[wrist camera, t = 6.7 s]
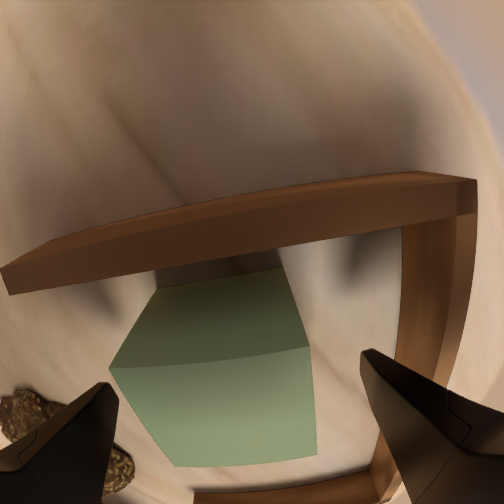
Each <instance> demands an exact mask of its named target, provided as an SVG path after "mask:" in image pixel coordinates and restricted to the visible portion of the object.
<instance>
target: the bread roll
mask: <svg viewBox="0 0 504 504" xmlns="http://www.w3.org/2000/svg"><path fill="white" fill-rule="evenodd" d="M64 407H66V406H65V405H62V404H60V403H57V402H47V401H45V400H44V399H43V398H42V397H40V396H39V395H37V394H35V393H33V392H31V391H28V390H25V389H24V390H23V391H19V390H16V391H15V392H13V396H12V397H10V398H8V397H2V399H1V404H0V425H1V426H2V430H1V431H2V433H3V434H4V436H5V437H6V438H7V439H8V440H10V441H11V442H12V443H14V442H15V441H17V440H19V439H20V438H22V437H24V436H25V435H26V434H28V433H29V432H31V431H32V430H34V429H35V428H36V427H38V426H39V425H41V424H42V423H43V422H45V421H46V420H48V419H49V418H50V417H52V416H53V415H55V414H56V413H57V412H59V411H60V410H62V409H63V408H64ZM134 473H135V467H134V462H133V460H132V459H131V458H129V457H128V456H126V455H124V454H122V453H121V452H119V451H118V450H116V449H115V448H113V447H112V450H111V454H110V459H109V464H108V469H107V474H106V479H105V484H104V490H103V495H102V498H104V497H107V496H110V495H111V494H112V493H116V492H118V491H120V490H121V489H123V488H125V487H126V486H127V485H128V484H129V483H131V480H132V479H133V478H134Z"/></svg>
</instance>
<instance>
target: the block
mask: <svg viewBox="0 0 504 504" xmlns="http://www.w3.org/2000/svg"><path fill="white" fill-rule="evenodd" d="M109 370H110V372H111V374H112V376H113V377H114V379H115V381H116V383H117V384H118V386H119V388H120V389H121V391H122V393H123V394H124V396H125V398H126V399H127V401H128V402H129V404H130V406H131V407H132V409H133V410H134V412H135V413H136V415H137V416H138V418H139V419H140V421H141V422H142V424H143V425H144V427H145V428H146V430H147V431H148V432H149V434H150V435H151V436H152V438H153V439H154V441H155V442H156V443H157V445H158V446H159V447H160V449H161V450H162V451H163V452H164V454H165V455H166V456H167V458H168V459H169V460H170V461H171V463H172V464H173V465H174V466H175V467H225V466H242V465H253V464H263V463H271V462H279V461H286V460H292V459H298V458H303V457H308V456H313V455H317V437H316V419H315V403H314V389H313V377H312V365H311V354H310V345H309V342H308V339H307V336H306V333H305V330H304V327H303V324H302V321H301V318H300V315H299V312H298V309H297V306H296V303H295V300H294V297H293V294H292V291H291V288H290V286H289V283H288V280H287V277H286V274H285V271H284V268H283V267H281V268H276V269H270V270H265V271H259V272H254V273H248V274H243V275H237V276H231V277H225V278H220V279H214V280H208V281H202V282H196V283H190V284H184V285H178V286H172V287H166V288H160V289H156V291H155V293H154V294H153V296H152V297H151V299H150V300H149V302H148V303H147V305H146V307H145V308H144V310H143V311H142V313H141V315H140V316H139V318H138V319H137V321H136V323H135V324H134V326H133V328H132V329H131V331H130V332H129V334H128V336H127V337H126V339H125V341H124V342H123V344H122V346H121V347H120V349H119V351H118V353H117V354H116V356H115V358H114V359H113V361H112V363H111V365H110V366H109Z"/></svg>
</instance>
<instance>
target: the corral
mask: <svg viewBox="0 0 504 504" xmlns="http://www.w3.org/2000/svg"><path fill="white" fill-rule="evenodd" d="M477 218H478V193H477V180H476V179H470V178H464V177H458V176H452V175H445V174H438V173H431V172H423V171H411V172H400V173H390V174H380V175H371V176H362V177H354V178H346V179H338V180H330V181H323V182H316V183H309V184H302V185H296V186H289V187H283V188H277V189H271V190H265V191H259V192H254V193H248V194H243V195H237V196H232V197H227V198H222V199H216V200H211V201H207V202H202V203H197V204H192V205H187V206H183V207H178V208H174V209H169V210H165V211H160V212H156V213H152V214H148V215H144V216H139V217H135V218H131V219H127V220H123V221H119V222H115V223H112V224H108V225H104V226H100V227H97V228H93V229H89V230H86V231H82V232H79V233H75V234H72V235H68V236H65V237H61V238H58V239H55V240H51V241H49V242H47V243H45V244H43V245H42V246H40V247H38V248H36V249H34V250H32V251H30V252H28V253H27V254H25V255H23V256H21V257H19V258H17V259H16V260H14V261H12V262H10V263H9V264H7V265H5V266H3V267H2V268H0V272H1V275H2V278H3V280H4V283H5V286H6V288H7V291H8V294H9V296H10V295H15V294H21V293H27V292H32V291H38V290H44V289H49V288H55V287H61V286H66V285H72V284H78V283H83V282H89V281H95V280H100V279H106V278H112V277H117V276H123V275H129V274H134V273H140V272H145V271H151V270H157V269H162V268H168V267H174V266H179V265H185V264H191V263H196V262H202V261H208V260H213V259H219V258H224V257H230V256H236V255H241V254H247V253H253V252H258V251H264V250H270V249H275V248H281V247H286V246H292V245H298V244H303V243H309V242H314V241H320V240H326V239H331V238H337V237H343V236H348V235H354V234H359V233H365V232H371V231H376V230H382V229H387V228H393V227H399V226H402V246H403V256H402V290H401V306H400V319H399V329H398V338H397V346H396V354H395V361H397V362H399V363H400V364H402V365H404V366H406V367H408V368H410V369H411V370H413V371H415V372H417V373H419V374H421V375H422V376H424V377H426V378H428V379H430V380H432V381H434V382H435V383H437V384H439V385H441V386H443V387H445V388H446V387H447V384H448V381H449V379H450V376H451V372H452V369H453V366H454V363H455V359H456V356H457V352H458V349H459V345H460V341H461V337H462V333H463V329H464V324H465V320H466V315H467V310H468V305H469V299H470V293H471V287H472V280H473V272H474V264H475V254H476V241H477ZM402 481H403V480H402V478H401V475H400V473H399V471H398V468H397V466H396V464H395V461H394V459H393V457H392V454H391V452H390V450H389V448H388V445H387V443H386V441H385V438H384V436H383V434H382V432H381V431H380V435H379V438H378V442H377V446H376V449H375V453H374V456H373V459H372V462H371V466H370V469H369V470H366V471H363V472H359V473H356V474H352V475H349V476H345V477H341V478H337V479H333V480H328V481H324V482H319V483H314V484H309V485H304V486H298V487H291V488H285V489H277V490H268V491H258V492H244V493H194V502H193V504H382V503H385V502H388V501H390V499H391V498H392V496H393V495H394V493H395V492H396V490H397V489H398V487H399V486H400V484H401V482H402Z"/></svg>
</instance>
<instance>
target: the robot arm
mask: <svg viewBox="0 0 504 504" xmlns="http://www.w3.org/2000/svg"><path fill="white" fill-rule="evenodd" d="M360 375H361V378H362V381H363V384H364V387H365V390H366V393H367V397H368V400H369V403H370V406H371V409H372V412H373V414H374V416H375V419H376V421H377V423H378V425H379V427H380V430H381V432H382V434H383V436H384V438H385V441H386V443H387V445H388V448H389V450H390V452H391V454H392V457H393V459H394V461H395V464H396V466H397V468H398V471H399V473H400V475H401V478H402V480H403V483H404V485H405V487H406V490H407V492H408V495H409V497H410V500H411V502H412V504H504V413H503V412H500V411H497V410H494V409H492V408H489V407H486V406H483V405H481V404H478V403H476V402H473V401H471V400H469V399H467V398H464V397H462V396H460V395H458V394H456V393H454V392H453V391H451V390H447V388H445V387H443V386H441V385H439V384H437V383H435V382H434V381H432V380H430V379H428V378H426V377H424V376H422V375H421V374H419V373H417V372H415V371H413V370H411V369H410V368H408V367H406V366H404V365H402V364H400V363H399V362H397V361H395V360H393V359H391V358H390V357H388V356H386V355H384V354H382V353H381V352H379V351H377V350H375V349H373V348H371V349H367V350H364V351H362V352H361V355H360ZM118 408H119V398H118V396H117V394H116V393H115V391H114V389H113V388H112V386H111V384H110V383H108V382H99V383H97V384H96V385H94V386H93V387H92V388H90V389H89V390H88V391H86V392H85V393H83V394H82V395H81V396H79V397H78V398H77V399H75V400H74V401H73V402H71V403H70V404H68V405H67V406H66V407H64V408H63V409H62V410H60V411H59V412H57V413H56V414H55V415H53V416H52V417H50V418H49V419H48V420H46V421H45V422H43V423H42V424H41V425H39V426H38V427H36V428H35V429H34V430H32V431H31V432H29V433H28V434H26V435H25V436H24V437H22V438H20V439H19V440H17V441H15V442H14V443H12V444H10V445H9V446H7V447H5V448H3V449H2V450H0V504H101V501H102V495H103V490H104V484H105V479H106V474H107V469H108V464H109V459H110V454H111V450H112V446H113V441H114V436H115V430H116V423H117V415H118Z"/></svg>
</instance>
